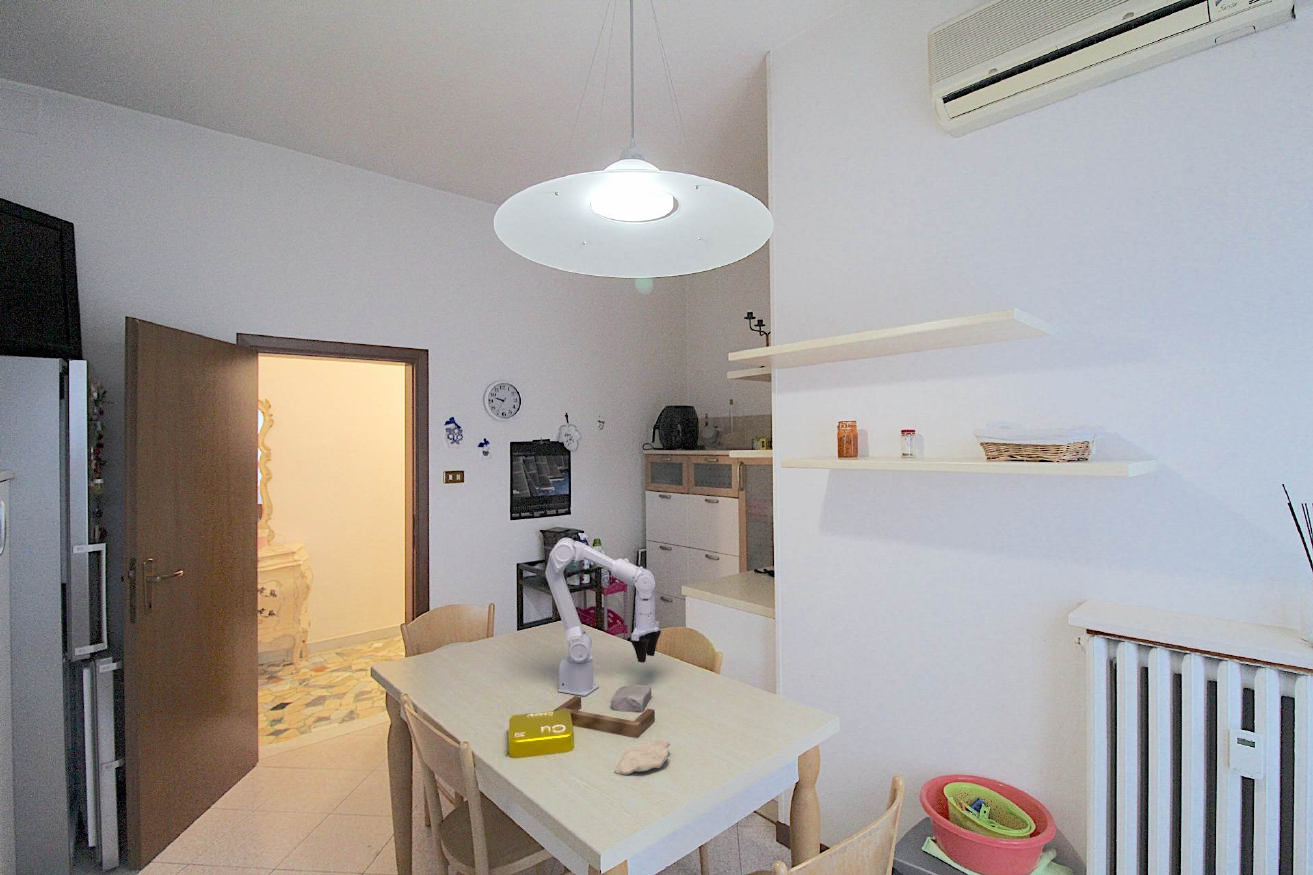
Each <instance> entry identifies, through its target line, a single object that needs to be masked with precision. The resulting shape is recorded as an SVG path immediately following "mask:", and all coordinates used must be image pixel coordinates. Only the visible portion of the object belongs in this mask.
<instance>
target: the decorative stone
mask: <svg viewBox="0 0 1313 875" xmlns="http://www.w3.org/2000/svg"><path fill="white" fill-rule="evenodd" d="M669 746H671V743H670V742H668V741H664V740H661V739H660V740H659V739H655V741H649V742H647V743H645V744H643V745H640V746H635V747H631V748H629V749H628V750H625V751H624V752H623V754H622V756H621V759H620V760H619V761H618V764H617V766H616V767H615V770H614V773H615V774H616V775H623V776H624V775H625V776H626V775H627V776H628V775H630V774H632V773H634V772H646V771H649V770H651V769H660V768H661V767H662V766H663V765H664V763H665V761H667V759H668V757H669V749H668V747H669Z"/></svg>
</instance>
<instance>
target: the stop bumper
mask: <svg viewBox="0 0 1313 875" xmlns="http://www.w3.org/2000/svg"><path fill="white" fill-rule="evenodd" d="M581 709H582V697H581V696H579V695H575V696H574V695H573V697H571V698H570V699H568V700H566V701H565V702H564V703H562V704H560V705H559V706H558V707H556V708H555V709H553V711H560V710H567V711H569V712H570V714H571V720H572V725H573V727H579V728H584V729H590V730H595V731H599V732H605V733H608V734H609V733H610V734H615V735H620V736H623V737H624V736H625V737H629V738H635V739H638V738H639V737H641V735H642V734H644V733H645V731H646V730H648V729H649V728H650V727H651V726H652V725H653V724H654V723H655V722H656V721H655V720H656V719H655V718H656V717H655V716H656V715H655V709H652V708H646V709H644V710H643V712H641V714H640V715H639V716H637V717H636V718H635V719H633V720H631V719H630V720H629V719H624V718H619V717H612V716H608V715H603V714H598V713H593V712H587V711H586V712H585V711H582V710H581Z"/></svg>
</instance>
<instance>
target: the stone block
mask: <svg viewBox="0 0 1313 875" xmlns="http://www.w3.org/2000/svg"><path fill="white" fill-rule="evenodd" d="M651 698H652V686H651V685H650V686H647V685H641V684H628V685H624V686H621V687H619V688H618V689H617V690H616V691H615V692H614V693H613V696H612V697H611V699H610V707H611V708H612V710H613V711H615V712H622V713H626V712H627V713H628V712H630V713H643V712H644V711H645V710H646V709H645V708H646V707H647V705H648V703H649V701H650V700H651Z"/></svg>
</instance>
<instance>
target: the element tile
mask: <svg viewBox="0 0 1313 875" xmlns="http://www.w3.org/2000/svg"><path fill="white" fill-rule="evenodd" d="M508 721H509V722H508V724H509V725H508V739H507V741H508V757H510V758H511V759H522V758H530V757H531V758H532V757H540V756H546V755H555V754H564V753H569V752H572V751H573V750H574V748H575V731H574V726H573V725H572V720H571V714H570V712H569V711H567V710H560V711H554V710H553V711H552V710H551V711H544V712H543V711H542V712H532V713H524V714H515V715H512V716H511V717H510V718H509V720H508Z"/></svg>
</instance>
